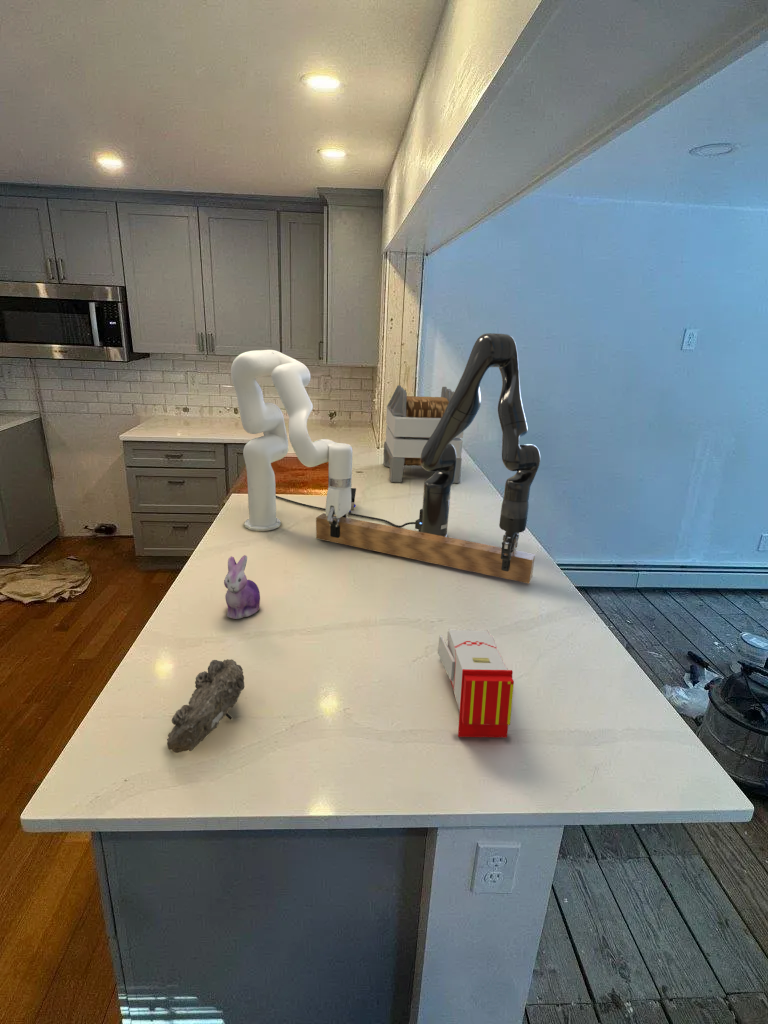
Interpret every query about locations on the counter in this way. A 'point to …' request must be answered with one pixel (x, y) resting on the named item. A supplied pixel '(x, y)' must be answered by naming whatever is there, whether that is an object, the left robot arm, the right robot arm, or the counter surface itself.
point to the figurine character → (352, 499)
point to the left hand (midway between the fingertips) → (338, 533)
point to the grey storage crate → (414, 430)
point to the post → (428, 548)
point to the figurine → (240, 591)
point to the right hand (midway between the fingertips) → (507, 566)
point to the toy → (478, 682)
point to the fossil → (206, 705)
